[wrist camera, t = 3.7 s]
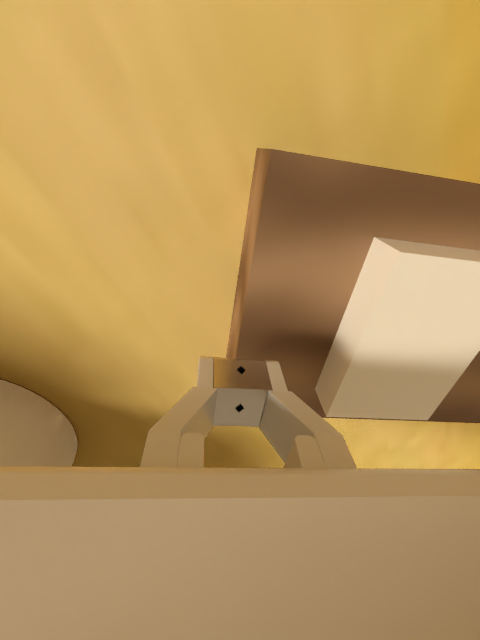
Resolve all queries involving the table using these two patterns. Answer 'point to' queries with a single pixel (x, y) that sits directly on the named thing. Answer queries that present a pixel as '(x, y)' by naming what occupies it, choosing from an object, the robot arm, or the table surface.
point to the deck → (335, 259)
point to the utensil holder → (33, 430)
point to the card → (404, 332)
